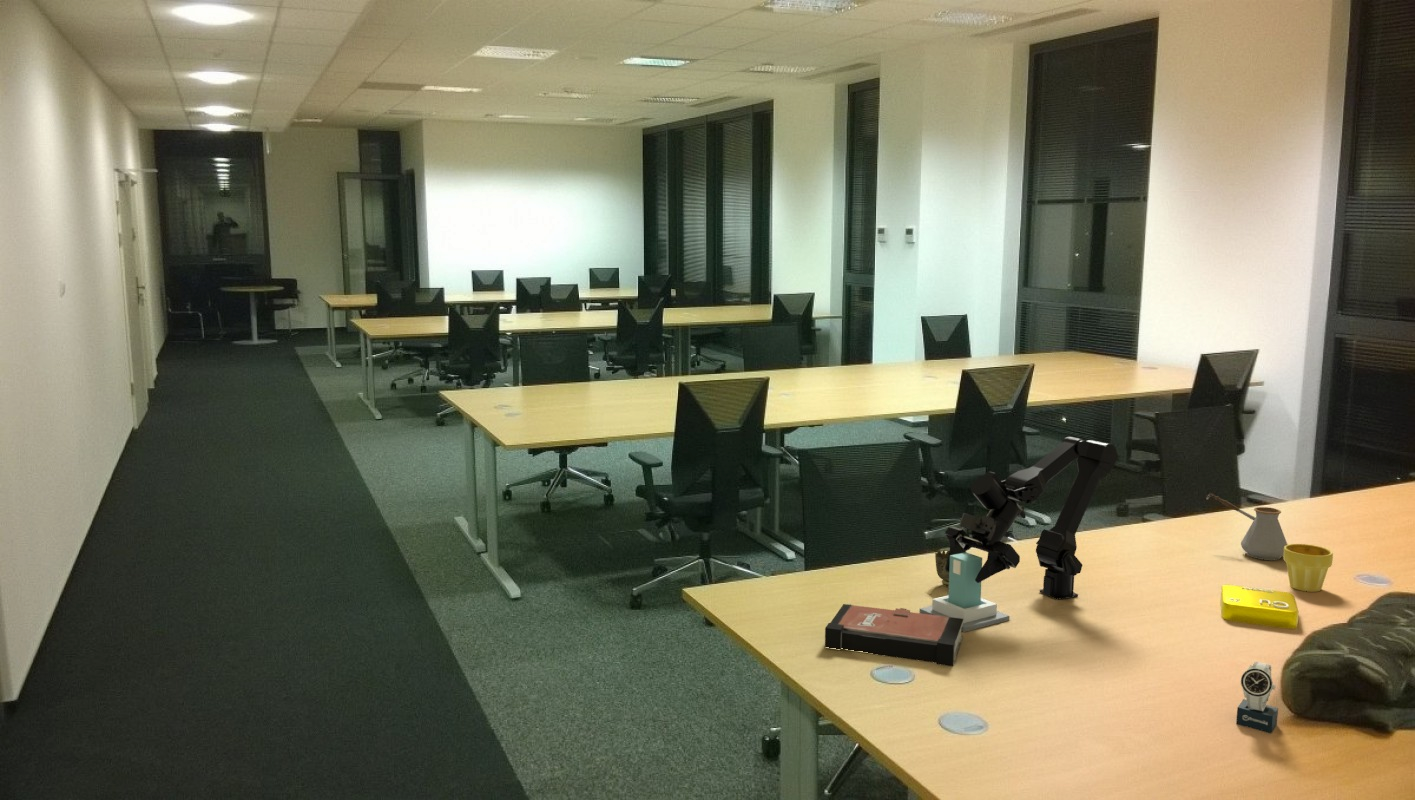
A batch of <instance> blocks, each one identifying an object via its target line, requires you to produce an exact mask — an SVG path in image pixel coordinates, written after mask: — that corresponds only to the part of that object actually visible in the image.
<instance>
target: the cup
mask: <svg viewBox="0 0 1415 800" xmlns="http://www.w3.org/2000/svg"><path fill="white" fill-rule="evenodd" d="M949 550H950V549H949ZM949 550H947V551H945V550H942V551H940V550H938V551H936V552H935V553H934V555H935V558H934V560H935V569H936V574H937V576H938V577H939V578H940V579H941V584H942V585H943V586H944V587H947V588H949V572H947V571H946V570H945V568H946V564H947V559H948V555H949Z"/></svg>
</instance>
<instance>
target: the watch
mask: <svg viewBox="0 0 1415 800" xmlns="http://www.w3.org/2000/svg"><path fill="white" fill-rule="evenodd" d="M1240 685H1241V688H1242V691H1243V697H1244V698H1243V699H1242V701H1241V702H1240V703H1239V704H1238V706H1237V707H1236V708H1237V711H1236V721H1235V722H1236V723H1235V724H1236V725H1238V726H1240V727H1245V728H1249V729H1254V730H1257V731H1261V732H1264V733H1268V734H1272V733H1273V731H1274V730H1275V728H1276V727H1277V725H1278V715H1279V714H1278V713H1279V707H1277V706H1272V705H1268V704H1267V702H1269V699H1270V697H1271V693H1272V692H1273V691H1272V690H1276V689H1277V685H1275V684H1274V683H1273V678H1272V664H1268V663H1263V662H1259V661H1254V663H1252V665H1251V664H1250V665H1249V666H1248V668H1247V670H1245V671H1244V672H1243V674H1242V675H1241V676H1240Z"/></svg>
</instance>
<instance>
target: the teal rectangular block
mask: <svg viewBox="0 0 1415 800" xmlns="http://www.w3.org/2000/svg"><path fill="white" fill-rule="evenodd" d="M982 567H983V557H981V556H979V555H975V554H972V553H971V552H967V551H966V552H964V553H960V554H955V555H950V568H949V587H948V595H949V596H948V602H949V603H951V604H954V605H956V606H959V607H961V608H964V609H966V608H970V607H974V606H978V605H981V598H982V581H981V582H980V583H977V582H976V581H975V579H976V577H977V575H978V573H979V571H980V570H981V568H982Z"/></svg>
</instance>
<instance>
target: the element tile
mask: <svg viewBox="0 0 1415 800" xmlns="http://www.w3.org/2000/svg"><path fill="white" fill-rule="evenodd" d="M1220 589H1221V591H1220V602H1219V603H1220V617H1221V618H1222V619H1223V620H1225V621H1229V622H1236V623H1243V624H1249V625H1257V626H1265V627H1273V628H1280V629H1289V630H1294V629H1295V630H1296V629H1297V628H1298V625H1299V624H1298V622H1299V609H1298V608H1299V607H1298V605H1297V601H1296V598H1295V597H1296V596H1295V595H1294V594H1293V593H1291V592H1288V591H1281V590H1273V589H1272V590H1271V589H1266V588H1265V589H1264V588H1256V587H1248V586H1240V585H1233V584H1232V585H1231V584H1224V585H1222V586H1221V588H1220Z"/></svg>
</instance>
